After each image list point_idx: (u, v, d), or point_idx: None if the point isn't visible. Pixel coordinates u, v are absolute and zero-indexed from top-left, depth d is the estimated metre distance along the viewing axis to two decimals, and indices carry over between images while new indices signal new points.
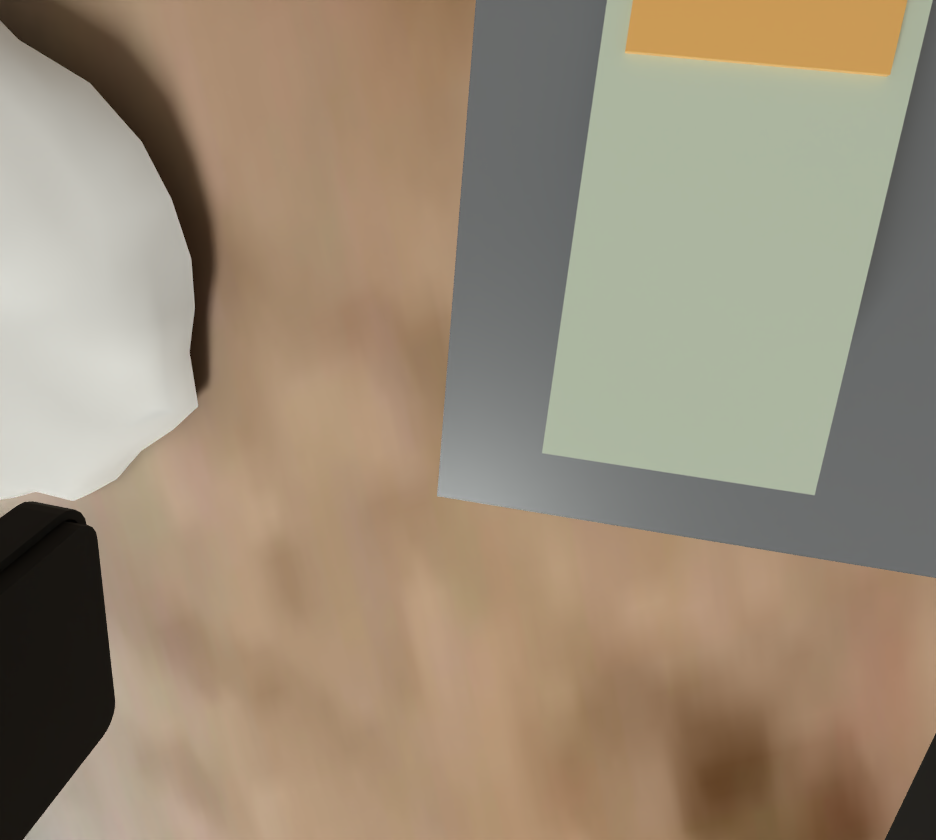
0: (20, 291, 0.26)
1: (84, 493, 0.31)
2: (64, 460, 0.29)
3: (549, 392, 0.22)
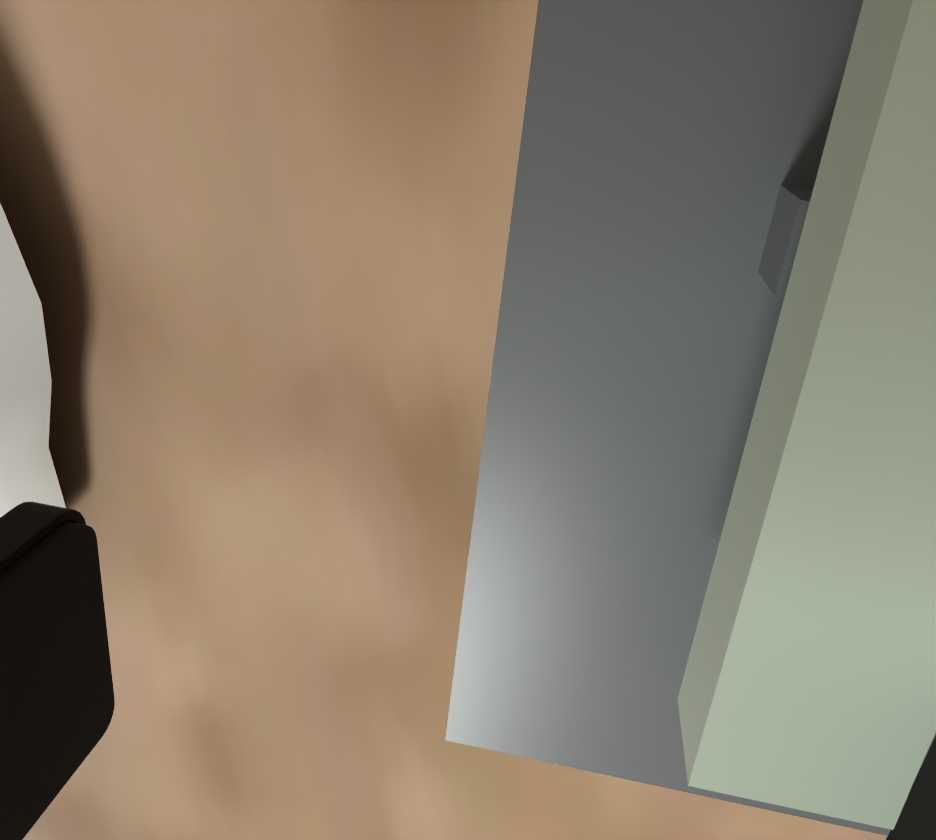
0: None
1: None
2: None
3: (663, 590, 0.11)
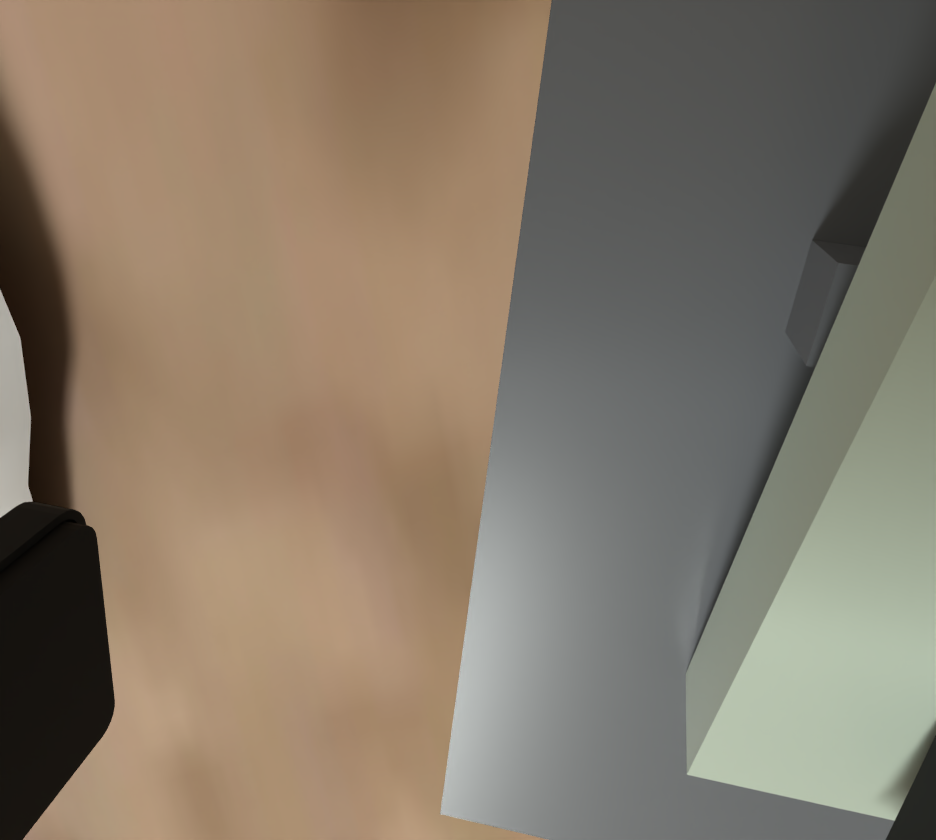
0: None
1: None
2: None
3: (676, 665, 0.11)
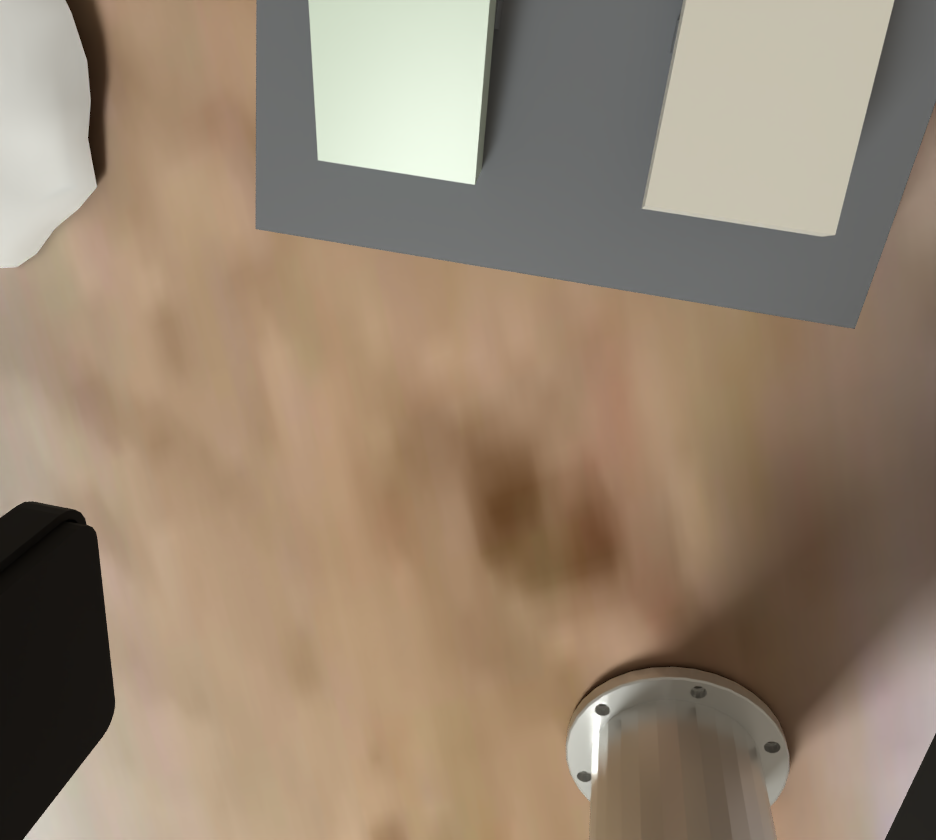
0: None
1: (10, 262, 0.40)
2: None
3: None
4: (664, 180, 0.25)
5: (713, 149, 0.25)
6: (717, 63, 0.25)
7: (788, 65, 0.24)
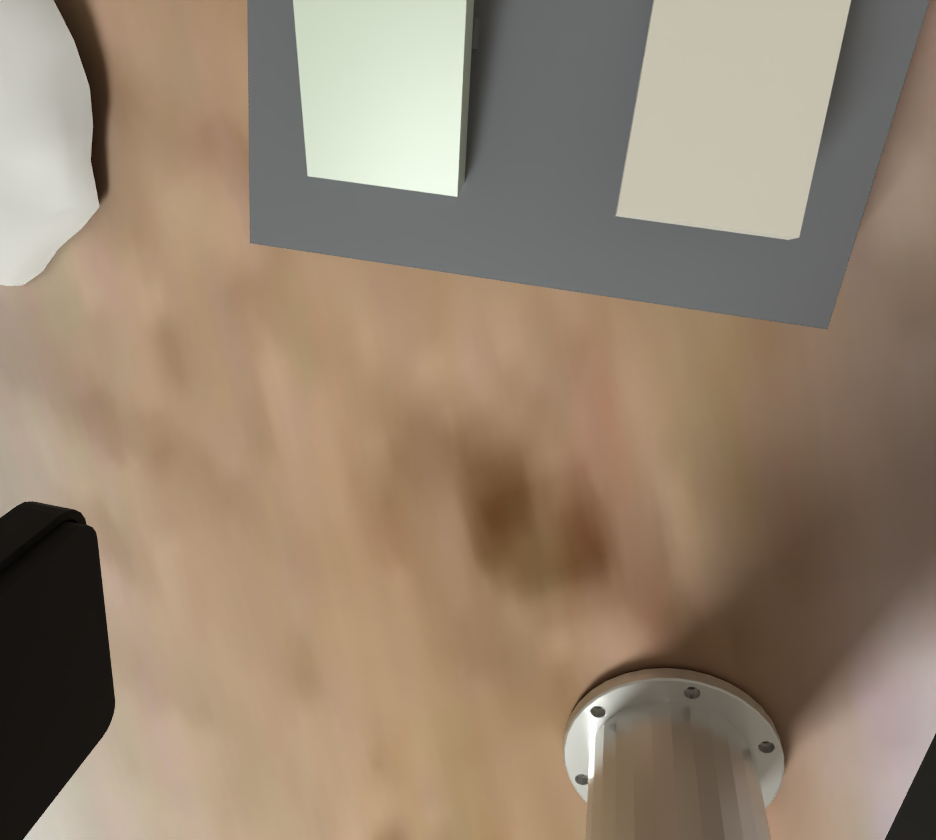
0: None
1: (17, 280, 0.41)
2: (1, 247, 0.40)
3: None
4: (635, 189, 0.27)
5: (680, 158, 0.26)
6: (682, 76, 0.26)
7: (749, 77, 0.26)
